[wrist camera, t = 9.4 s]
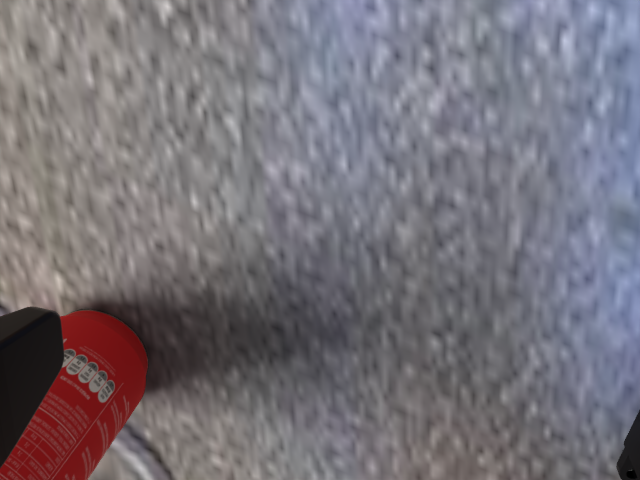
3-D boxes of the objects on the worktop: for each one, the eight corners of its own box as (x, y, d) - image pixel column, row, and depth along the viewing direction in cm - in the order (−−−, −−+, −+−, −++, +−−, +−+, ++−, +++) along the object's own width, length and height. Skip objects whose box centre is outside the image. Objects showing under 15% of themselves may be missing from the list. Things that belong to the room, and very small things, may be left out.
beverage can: (179, 379, 25) (-10, 691, 14) (93, 411, 27) (-133, 709, 16) (109, 284, 23) (-163, 554, 13) (22, 324, 25) (-281, 591, 14)
